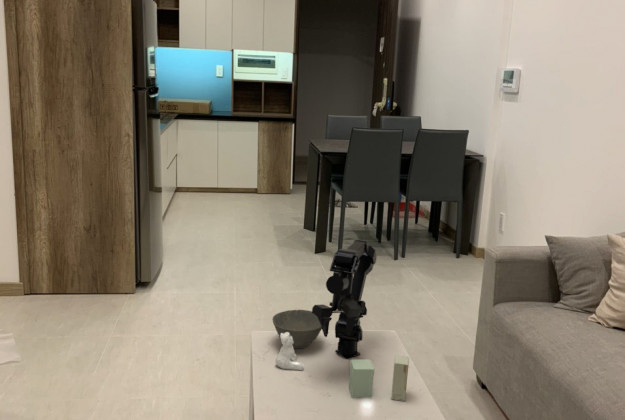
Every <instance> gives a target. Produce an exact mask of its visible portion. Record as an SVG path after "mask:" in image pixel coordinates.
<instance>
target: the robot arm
mask: <svg viewBox="0 0 625 420" xmlns="http://www.w3.org/2000/svg"><path fill="white" fill-rule="evenodd" d="M377 257H378V256H377V251H376V249H375V248H374V247H372V245H371V244H370V242H369V241H368V240H364V239H363V240H362V239H355V240H354V241H353V243H352V244H350V245H349V246H348V247H347V248H339V249H338V250H337V251H336V252H334V255H333V258H332V261H331V264H330V267H329V271H330V272H332V273H333V274H332V275H331V276H329V277H328V279H326V282H325V288H326V290H327V291H328V292H329V293H330V294H332V301H331V302H329V306H328V305H326V304H314V305H313V306H312V308H311V311H312V313H313V314H315V316H317V317H318V319H319V322H320V324H321V327H322V329H321V331H322V333H323V336H324V338H327V337H328V334H329V328H330V322H331V321H332V319H333V318H332V316H333V314H338V319H337V321H336V322H335V325H334V335H335V336H334V337H335V338H336V339H337V338H338V342H337V349H336V350H335V351H334V353H336V354H337V355H339V356H341V357H342V358H344V359H346V360H349V359H351V358H354V357H355V358H356V357H357V356H360V355H361V352H359V351H358V345H359V344H358V343H359V342H361V341H363V329H362V326H361V320H360V319H361V318H364V316H367V314H368V313H367V312H368V309H367V306H366V302H365V301H364V300H362V298H363V293H364V288H365V285H366V279H367V276H368V275H369V274H370V273H371V272H372V270H373V269H374V265H376V263H377Z"/></svg>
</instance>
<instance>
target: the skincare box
mask: <svg viewBox="0 0 625 420" xmlns="http://www.w3.org/2000/svg"><path fill="white" fill-rule="evenodd" d="M394 357H395V358H394V364H393V374H392V385H391V397H390V399H391V400H396V401H402V402H405V401H406V395H407V383H408V373H409V365H410V364H409V363H410V357H409V356H405V355H400V354H395V356H394Z"/></svg>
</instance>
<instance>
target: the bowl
mask: <svg viewBox="0 0 625 420" xmlns="http://www.w3.org/2000/svg"><path fill="white" fill-rule="evenodd" d="M272 323H273V325H274V328H275V331H276V333H277V336H278V337H280V335H281V333H283V334H284V333H285V332H288V333H290V336H292V337H293V338H292V339H293V342H294V343H293V344H292V345H293V349H304V348H306V347H308V346H310V345H311V344H312V343H313V342H314V341H315V340H316V339H317V338H318V336H319V334H320V333H321V331H322V327H321V324H320V322H319V319H318V317H317V316H315V314H313V313H312V310H306V309H290V310H285V311H281V312H277V313H276V314H274V315H273V317H272Z"/></svg>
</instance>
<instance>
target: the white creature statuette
mask: <svg viewBox="0 0 625 420" xmlns="http://www.w3.org/2000/svg"><path fill="white" fill-rule="evenodd" d="M279 338H280V342H281V345H282V346H281V347H280V350H279V353H278V355H276V358H275V363H276V365H277V367H279V368H280V369H283V370H290V371H291V370H293V371H303V370H304V368H305V367H304V363H303V362H300V361H297V358H298V357H297V354H296V353H295V348H293V345H292V344H293V343H294V342H293V339H292V338H293V337H292V336H290V333H288V332H285V333H284V334H283V333H281V335H280V336H279Z"/></svg>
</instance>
